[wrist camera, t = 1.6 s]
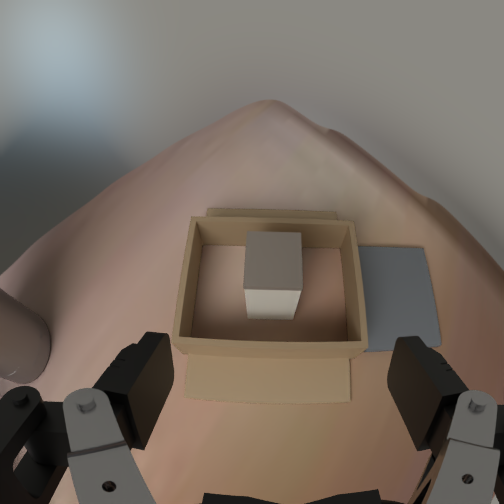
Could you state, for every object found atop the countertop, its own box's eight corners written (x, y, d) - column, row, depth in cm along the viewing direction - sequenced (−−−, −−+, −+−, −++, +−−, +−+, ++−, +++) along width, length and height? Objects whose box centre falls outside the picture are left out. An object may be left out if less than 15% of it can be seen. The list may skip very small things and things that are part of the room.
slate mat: (364, 352, 29) (366, 350, 28) (354, 248, 35) (355, 246, 35) (438, 346, 29) (441, 344, 28) (421, 250, 35) (423, 248, 34)
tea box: (247, 319, 31) (243, 286, 24) (249, 273, 34) (246, 231, 27) (293, 320, 31) (303, 287, 24) (292, 274, 34) (301, 232, 27)
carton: (178, 397, 27) (165, 392, 23) (203, 210, 38) (197, 185, 35) (355, 401, 26) (370, 397, 23) (340, 213, 38) (348, 189, 34)
